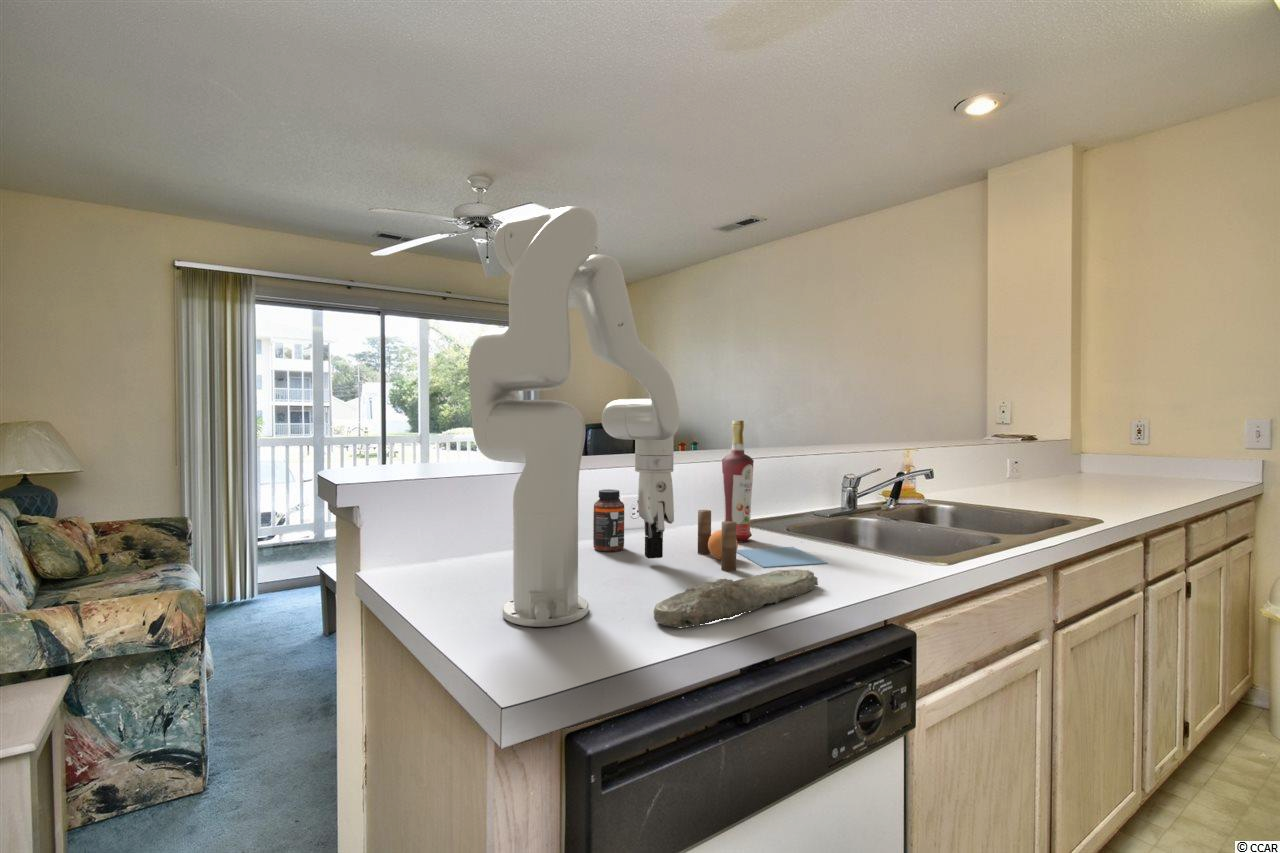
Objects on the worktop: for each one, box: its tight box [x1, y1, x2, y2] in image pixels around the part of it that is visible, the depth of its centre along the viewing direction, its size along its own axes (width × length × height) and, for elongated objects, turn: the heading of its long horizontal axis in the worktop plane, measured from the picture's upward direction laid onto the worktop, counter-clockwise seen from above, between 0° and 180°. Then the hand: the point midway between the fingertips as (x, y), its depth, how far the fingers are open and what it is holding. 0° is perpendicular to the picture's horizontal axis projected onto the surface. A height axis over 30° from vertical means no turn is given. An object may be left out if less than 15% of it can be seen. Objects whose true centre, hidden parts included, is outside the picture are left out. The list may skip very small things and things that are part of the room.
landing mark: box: [736, 546, 829, 568], centre depth 122 cm, size 14×14×1 cm
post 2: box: [720, 520, 737, 572], centre depth 112 cm, size 3×3×9 cm
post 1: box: [697, 509, 712, 556], centre depth 125 cm, size 3×3×9 cm
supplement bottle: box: [592, 488, 625, 553], centre depth 128 cm, size 7×7×13 cm
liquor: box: [721, 420, 754, 543], centre depth 138 cm, size 7×7×28 cm
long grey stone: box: [653, 569, 819, 628], centre depth 93 cm, size 35×5×10 cm
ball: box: [708, 529, 739, 561], centre depth 120 cm, size 6×6×6 cm
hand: (653, 557), depth 115 cm, fingers closed
